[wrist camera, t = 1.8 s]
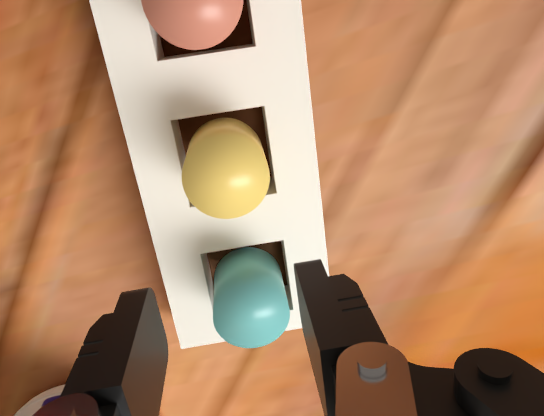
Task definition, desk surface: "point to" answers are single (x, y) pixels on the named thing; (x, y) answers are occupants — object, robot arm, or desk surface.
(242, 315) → the teal button
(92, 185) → the desk surface
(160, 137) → the panel
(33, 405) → the supplement tub
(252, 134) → the ochre button
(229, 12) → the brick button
